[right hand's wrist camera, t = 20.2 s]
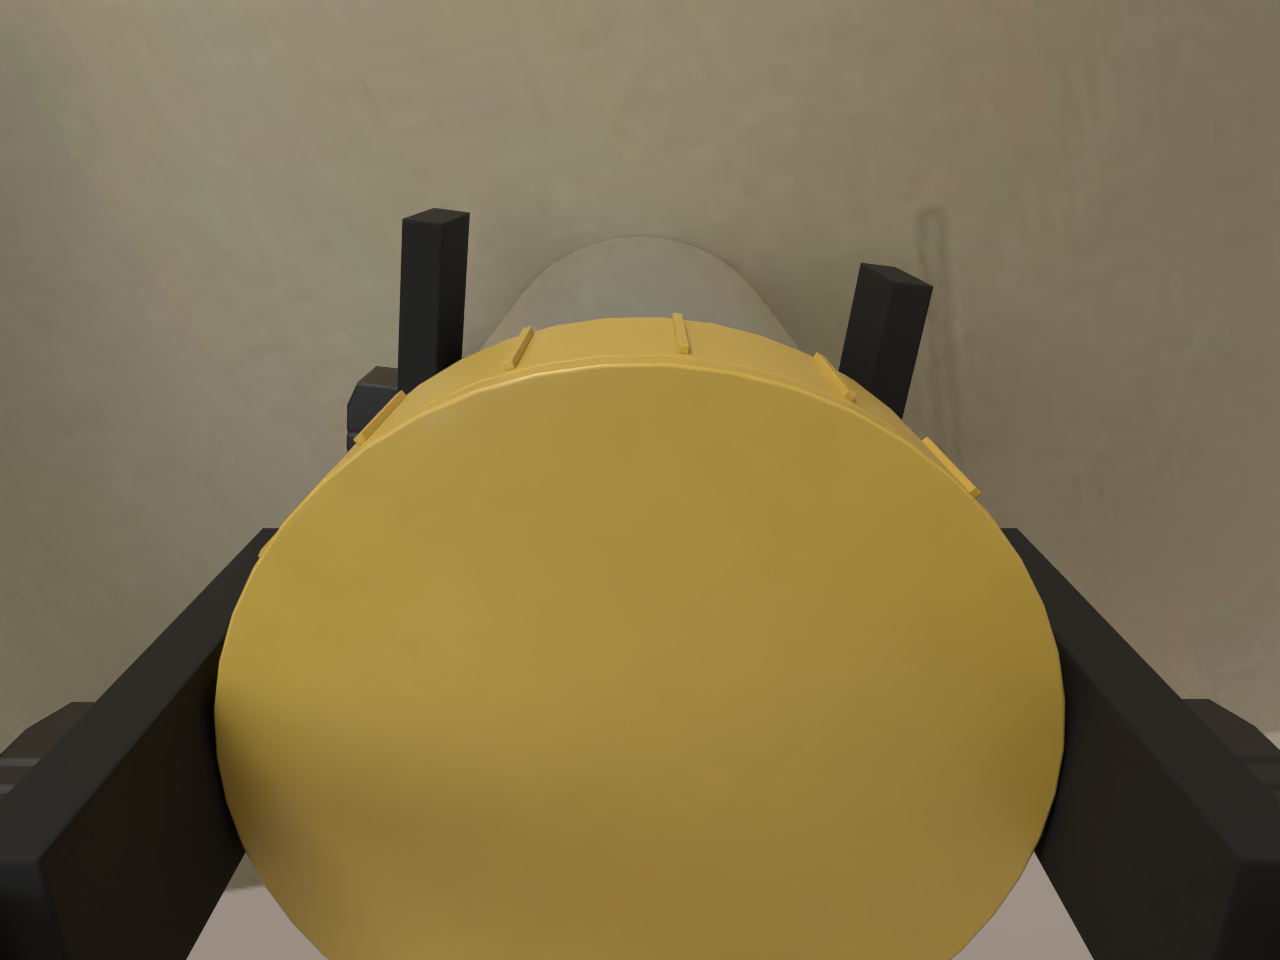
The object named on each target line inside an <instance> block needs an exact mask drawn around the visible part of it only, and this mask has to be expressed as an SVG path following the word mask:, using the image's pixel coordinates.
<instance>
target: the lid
mask: <svg viewBox="0 0 1280 960" xmlns="http://www.w3.org/2000/svg"><path fill="white" fill-rule="evenodd" d="M354 441H355V442H356V444H355V445H354V446H353V447H352V448H351V449H350V450H349V451H348V453H347V454H346V455H345V456H344V457H343V458H342V459H341V460H340V461H339V462H338V463H337V464H336V465H335V467H334V468H333V469H332V470H331V471H330V472H329V473H328V474H327V475H326V476H325V477H324V478H323V480H322V481H321V482H320V483H319V484H318V485H317V486H316V487H315V488H314V489H313V490H312V492H311V493H310V494H309V495H308V496H307V497H306V498H305V499H304V500H303V501H302V503H301V504H300V505H299V506H298V507H297V508H296V509H295V510H294V511H293V512H292V514H291V515H290V516H289V517H288V518H287V519H286V520H285V521H284V522H283V524H282V525H281V527H280V528H279V530H278V531H277V533H276V534H275V535H274V536H273V537H272V538H271V539H270V540H269V541H268V543H267V544H266V545H265V546H264V547H263V548H262V549H261V551H260V553H259V555H258V557H260V558H259V560H258V561H257V563H256V564H255V566H254V567H253V569H252V572H251V574H250V576H249V578H248V580H247V583H246V585H245V587H244V589H243V591H242V594H241V596H240V598H239V600H238V602H237V605H236V607H235V609H234V611H233V613H232V617H231V620H230V624H229V628H228V631H227V635H226V639H225V642H224V646H223V649H222V653H221V657H220V660H219V668H218V678H217V687H216V697H215V706H214V717H215V736H216V754H217V761H218V766H219V771H220V775H221V780H222V785H223V789H224V794H225V799H226V803H227V806H228V808H229V811H230V814H231V816H232V819H233V822H234V824H235V827H236V830H237V832H238V835H239V838H240V840H241V843H242V845H243V847H244V849H245V851H246V853H247V855H248V856H249V858H250V860H251V862H252V864H253V866H254V867H255V869H256V871H257V873H258V875H259V876H260V878H261V880H262V882H263V884H264V885H265V887H266V888H267V890H268V891H269V892H270V894H271V895H272V896H273V898H274V899H275V900H276V902H277V903H278V904H279V906H280V907H281V908H282V910H283V911H284V912H285V914H286V915H287V917H288V918H289V919H290V921H291V922H292V923H293V924H294V925H295V926H296V927H297V928H298V929H299V930H300V931H301V932H302V933H303V935H304V936H305V937H306V938H307V939H308V940H309V941H310V942H311V943H312V944H313V945H314V946H315V947H316V948H317V949H318V950H319V951H320V952H321V953H322V954H323V955H324V956H325V957H326V958H327V959H329V960H951V959H952V958H953V957H954V956H955V955H957V954H958V953H959V952H960V951H961V950H962V949H963V948H964V947H965V946H966V945H967V944H968V943H969V942H970V941H971V940H972V939H973V937H974V936H975V935H976V934H977V933H978V932H979V931H980V930H981V929H982V928H983V926H984V925H985V924H986V923H987V922H988V921H989V920H990V919H991V918H992V917H993V915H994V914H995V913H996V911H997V910H998V908H999V907H1000V906H1001V904H1002V903H1003V901H1004V900H1005V898H1006V897H1007V896H1008V894H1009V893H1010V891H1011V890H1012V889H1013V887H1014V886H1015V884H1016V883H1017V881H1018V880H1019V878H1020V877H1021V875H1022V873H1023V871H1024V869H1025V867H1026V865H1027V863H1028V861H1029V859H1030V857H1031V856H1032V854H1033V852H1034V850H1035V848H1036V846H1037V844H1038V842H1039V840H1040V838H1041V836H1042V833H1043V830H1044V827H1045V824H1046V821H1047V818H1048V815H1049V812H1050V809H1051V806H1052V804H1053V801H1054V798H1055V795H1056V790H1057V785H1058V779H1059V774H1060V768H1061V763H1062V757H1063V752H1064V731H1065V695H1064V688H1063V680H1062V673H1061V666H1060V659H1059V652H1058V649H1057V645H1056V642H1055V639H1054V636H1053V632H1052V629H1051V626H1050V623H1049V619H1048V616H1047V613H1046V610H1045V606H1044V604H1043V602H1042V600H1041V598H1040V596H1039V594H1038V592H1037V590H1036V587H1035V585H1034V583H1033V581H1032V579H1031V577H1030V575H1029V573H1028V571H1027V569H1026V567H1025V565H1024V563H1023V561H1022V559H1021V558H1020V556H1019V555H1018V553H1017V552H1016V550H1015V549H1014V548H1013V546H1012V545H1011V543H1010V542H1009V541H1008V539H1007V538H1006V536H1005V535H1004V533H1003V532H1002V531H1001V529H1000V528H999V526H998V525H997V524H996V522H995V521H994V519H993V518H992V517H991V515H990V514H989V513H988V512H987V511H986V510H985V509H984V507H983V506H982V505H981V504H980V503H979V502H978V501H977V500H976V499H975V498H977V497H978V496H979V495H981V493H980V491H979V490H978V489H977V488H976V487H975V486H974V485H973V484H972V483H971V482H970V480H969V479H968V478H967V477H966V476H965V475H964V474H963V473H962V472H961V471H960V470H959V469H958V468H957V467H956V466H955V465H954V464H953V463H952V462H951V461H950V460H949V459H948V458H947V457H946V455H945V454H944V453H943V452H942V451H941V450H940V449H939V448H938V447H937V446H936V445H935V444H934V443H933V442H932V441H931V440H930V439H929V438H928V437H925V438H924V439H923V440H922V441H921V440H920V439H919V438H918V437H917V436H916V435H915V433H914V432H913V431H912V430H911V429H910V428H909V427H908V426H907V425H906V424H905V423H904V422H903V421H902V420H901V419H900V418H899V417H898V416H897V415H896V414H895V413H894V412H893V411H892V410H891V409H890V408H889V407H888V406H886V405H885V404H884V403H882V402H881V401H880V400H879V399H877V398H876V397H875V396H873V395H872V394H871V393H870V392H868V391H867V390H866V389H864V388H863V387H862V386H861V385H859V384H858V383H857V382H855V381H854V380H853V379H851V378H849V377H847V376H846V375H844V374H842V373H840V372H839V371H837V370H835V368H834V367H833V366H832V365H831V364H830V362H829V361H828V360H827V359H826V358H825V356H824V355H822V354H820V353H818V352H816V354H815V355H814V357H812V356H811V355H809V354H806V353H804V352H801V351H799V350H796V349H794V348H791V347H789V346H786V345H784V344H781V343H779V342H776V341H774V340H771V339H769V338H766V337H764V336H760V335H757V334H753V333H749V332H745V331H741V330H737V329H733V328H729V327H725V326H721V325H717V324H713V323H706V322H697V321H689V320H683V317H682V314H681V313H673V316H672V318H664V317H637V318H604V319H597V320H590V321H583V322H577V323H570V324H563V325H556V326H553V327H549V328H546V329H542V330H539V331H535V332H533V329H532V327H531V326H530V327H526V328H523V330H522V331H521V333H520V335H519V336H517V337H514V338H510V339H507V340H505V341H502V342H500V343H498V344H495V345H493V346H491V347H489V348H486V349H484V350H482V351H479V352H477V353H475V354H472V355H470V356H468V357H466V358H463V359H461V360H459V361H458V362H456V363H454V364H453V365H451V366H449V367H448V368H446V369H445V370H443V371H441V372H440V373H438V374H436V375H435V376H433V377H431V378H430V379H428V380H426V381H425V382H423V383H422V384H420V385H418V386H417V387H416V388H415V389H414V390H412V391H411V392H410V393H409V394H407V395H406V394H405V393H404V392H403V391H402V390H401V391H400V392H399V393H397V394H396V395H395V396H394V397H393V398H392V399H391V400H390V401H389V402H388V403H387V404H386V406H385V407H384V408H383V409H382V410H381V411H380V412H379V413H378V414H377V415H376V416H375V417H374V418H373V419H372V420H371V421H370V422H369V423H368V424H367V426H366V427H365V428H364V429H363V430H362V431H361V432H360V433H359V434H358V435H357V436H356V437H355V438H354Z"/></svg>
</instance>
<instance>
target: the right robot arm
mask: <svg viewBox="0 0 1280 960" xmlns="http://www.w3.org/2000/svg"><path fill="white" fill-rule="evenodd" d="M1000 529H1001V531H1002V532H1003V533H1004V535H1005V536H1006V538H1007V539H1008V541H1009V542H1010V543H1011V545H1012V546H1013V548H1014V549H1015V550H1016V552H1017V553H1018V555H1019V556H1020V558H1021V559H1022V561H1023V563H1024V565H1025V567H1026V569H1027V571H1028V573H1029V575H1030V577H1031V579H1032V581H1033V583H1034V585H1035V587H1036V590H1037V592H1038V594H1039V596H1040V598H1041V600H1042V602H1043V604H1044V606H1045V610H1046V613H1047V616H1048V619H1049V623H1050V626H1051V629H1052V632H1053V636H1054V639H1055V642H1056V645H1057V649H1058V652H1059V659H1060V666H1061V673H1062V680H1063V688H1064V695H1065V731H1064V752H1063V757H1062V763H1061V768H1060V774H1059V779H1058V785H1057V790H1056V795H1055V798H1054V801H1053V804H1052V806H1051V809H1050V812H1049V815H1048V818H1047V821H1046V824H1045V827H1044V830H1043V833H1042V836H1041V838H1040V840H1039V842H1038V844H1037V846H1036V848H1035V850H1034V852H1035V854H1036V856H1037V857H1038V859H1039V861H1040V863H1041V865H1042V867H1043V868H1044V870H1045V872H1046V874H1047V876H1048V877H1049V879H1050V881H1051V883H1052V884H1053V886H1054V888H1055V890H1056V892H1057V894H1058V896H1059V897H1060V899H1061V901H1062V903H1063V905H1064V906H1065V908H1066V910H1067V912H1068V914H1069V915H1070V917H1071V919H1072V921H1073V923H1074V924H1075V926H1076V928H1077V930H1078V932H1079V934H1080V935H1081V937H1082V939H1083V941H1084V943H1085V944H1086V946H1087V948H1088V950H1089V952H1090V954H1091V955H1092V957H1093V959H1094V960H1280V750H1279V749H1278V748H1277V747H1276V746H1275V745H1274V744H1273V743H1272V742H1271V741H1270V740H1269V739H1268V738H1267V737H1265V736H1264V735H1263V734H1262V733H1261V732H1260V731H1259V730H1258V729H1257V728H1256V727H1255V726H1254V725H1252V724H1250V723H1249V722H1247V721H1245V720H1244V719H1242V718H1240V717H1238V716H1237V715H1235V714H1233V713H1232V712H1230V711H1228V710H1226V709H1225V708H1223V707H1221V706H1220V705H1218V704H1216V703H1215V702H1213V701H1211V700H1209V699H1181V698H1180V697H1179V696H1178V695H1177V694H1176V693H1175V692H1174V691H1173V690H1172V689H1171V688H1170V687H1169V686H1168V685H1167V683H1166V682H1165V681H1164V680H1163V679H1162V678H1161V677H1160V676H1159V675H1158V674H1157V673H1156V672H1155V671H1154V670H1153V669H1152V668H1151V667H1150V666H1149V665H1148V664H1147V663H1146V662H1145V661H1144V660H1143V659H1142V658H1141V657H1140V655H1139V654H1138V653H1137V652H1136V651H1135V650H1134V649H1133V648H1132V647H1131V646H1130V645H1129V644H1128V643H1127V642H1126V641H1125V640H1124V639H1123V638H1122V637H1121V636H1120V635H1119V634H1118V633H1117V632H1116V631H1115V630H1114V629H1113V627H1112V626H1111V625H1110V624H1109V623H1108V622H1107V621H1106V620H1105V619H1104V618H1103V617H1102V616H1101V615H1100V614H1099V613H1098V612H1097V611H1096V610H1095V609H1094V608H1093V607H1092V606H1091V605H1090V604H1089V603H1088V602H1087V601H1086V599H1085V598H1084V597H1083V596H1082V595H1081V594H1080V593H1079V592H1078V591H1077V590H1076V589H1075V588H1074V587H1073V586H1072V585H1071V584H1070V583H1069V582H1068V581H1067V580H1066V579H1065V578H1064V577H1063V576H1062V575H1061V574H1060V572H1059V571H1058V570H1057V569H1056V568H1055V567H1054V566H1053V565H1052V564H1051V563H1050V562H1049V561H1048V560H1047V559H1046V558H1045V557H1044V556H1043V555H1042V554H1041V553H1040V552H1039V551H1038V550H1037V549H1036V548H1035V547H1034V546H1033V544H1032V543H1031V542H1030V541H1029V540H1028V539H1027V538H1026V537H1025V536H1024V535H1023V534H1022V533H1021V532H1020V531H1019V530H1018V529H1017V528H1000ZM278 530H279V528H263V529H262V530H261V531H260V532H259V533H258V534H257V535H256V536H255V537H254V538H253V539H252V540H251V541H250V542H249V543H248V544H247V545H246V547H245V548H244V549H243V550H242V551H241V552H240V553H239V554H238V555H237V556H236V557H235V558H234V559H233V560H232V561H231V562H230V563H229V564H228V565H227V566H226V567H225V568H224V569H223V570H222V571H221V572H220V574H219V575H218V576H217V577H216V578H215V579H214V580H213V581H212V582H211V583H210V584H209V585H208V586H207V587H206V588H205V589H204V590H203V591H202V592H201V593H200V594H199V595H198V596H197V597H196V598H195V599H194V600H193V602H192V603H191V604H190V605H189V606H188V607H187V608H186V609H185V610H184V611H183V612H182V613H181V614H180V615H179V616H178V617H177V618H176V619H175V620H174V621H173V622H172V623H171V624H170V625H169V626H168V627H167V628H166V630H165V631H164V632H163V633H162V634H161V635H160V636H159V637H158V638H157V639H156V640H155V641H154V642H153V643H152V644H151V645H150V646H149V647H148V648H147V649H146V650H145V651H144V652H143V653H142V654H141V655H140V656H139V658H138V659H137V660H136V661H135V662H134V663H133V664H132V665H131V666H130V667H129V668H128V669H127V670H126V671H125V672H124V673H123V674H122V675H121V676H120V677H119V678H118V679H117V680H116V681H115V682H114V683H113V684H112V686H111V687H110V688H109V689H108V690H107V691H106V692H105V693H104V694H103V695H102V696H101V697H100V698H99V699H98V700H97V701H96V702H71V703H70V704H68V705H66V706H65V707H63V708H61V709H59V710H58V711H56V712H54V713H53V714H51V715H49V716H48V717H46V718H44V719H43V720H41V721H39V722H37V723H36V724H34V725H32V726H31V727H29V728H27V729H26V730H25V731H24V732H23V733H22V734H21V735H20V736H19V737H18V738H17V739H16V740H15V741H13V742H12V743H11V744H10V745H9V746H8V747H7V748H6V749H5V750H4V751H3V752H2V753H1V754H0V960H186V959H187V957H188V955H189V953H190V952H191V950H192V948H193V946H194V944H195V943H196V941H197V939H198V937H199V935H200V934H201V932H202V930H203V928H204V926H205V924H206V923H207V921H208V919H209V917H210V915H211V914H212V912H213V910H214V908H215V906H216V905H217V903H218V901H219V899H220V897H221V895H222V894H223V892H224V890H225V888H226V886H227V885H228V883H229V881H230V879H231V877H232V876H233V874H234V872H235V870H236V868H237V867H238V865H239V863H240V861H241V859H242V857H243V856H244V854H245V852H246V851H245V849H244V847H243V845H242V843H241V840H240V838H239V835H238V832H237V830H236V827H235V824H234V822H233V819H232V816H231V814H230V811H229V808H228V806H227V803H226V799H225V794H224V789H223V785H222V780H221V775H220V771H219V766H218V761H217V754H216V736H215V717H214V706H215V697H216V687H217V678H218V668H219V660H220V657H221V653H222V649H223V646H224V642H225V639H226V635H227V631H228V628H229V624H230V620H231V617H232V613H233V611H234V609H235V607H236V605H237V602H238V600H239V598H240V596H241V594H242V591H243V589H244V587H245V585H246V583H247V580H248V578H249V576H250V574H251V572H252V569H253V567H254V566H255V564H256V563H257V561H258V560H259V558H260V557H258V555H259V553H260V551H261V549H262V548H263V547H264V546H265V545H266V544H267V543H268V541H269V540H270V539H271V538H272V537H273V536H274V535H275V534H276V533H277V531H278Z"/></svg>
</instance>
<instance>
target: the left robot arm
mask: <svg viewBox="0 0 1280 960" xmlns="http://www.w3.org/2000/svg"><path fill="white" fill-rule="evenodd" d="M469 217H470V213H469V212H461V211H453V210H445V209H437V208H433V209H430V210H427V211H424V212H421V213H418V214H415V215H412V216H409V217H407V218H404V219H403V221H402V253H401V286H400V318H399V350H398V369H396V368H388V367H380V366H376V367H375V368H374V369H373V370H371V371H370V372H369V373H368V374H367V375H366V376H364V377H363V378H362V379H361V380H360V381H359V382H358V383H357V385H356V387H355V389H354V392H353V394H352V396H351V398H350V400H349V403H348V405H347V430H348V433H347V449H348V451H349V450H350V449H351V448H352V447H353V446H354V445H355V444H356V442H355V441H354V438H355V437H356V436H357V435H358V434H359V433H360V432H361V431H362V430H363V429H364V428H365V427H366V426H367V424H368V423H369V422H370V421H371V420H372V419H373V418H374V417H375V416H376V415H377V414H378V413H379V412H380V411H381V410H382V409H383V408H384V407H385V406H386V404H387V403H388V402H389V401H390V400H391V399H392V398H393V397H394V396H395V395H396V394H397V393H399V392H400V391H401V390H402V391H403V392H404V393H405V394H406V395H407V394H409V393H410V392H411V391H412V390H414V389H415V388H416V387H417V386H418V385H420V384H422V383H423V382H425V381H426V380H428V379H430V378H431V377H433V376H435V375H436V374H438V373H440V372H441V371H443V370H445V369H446V368H448V367H449V366H451V365H453V364H454V363H456V362H458V361H459V360H461V359H462V342H463V324H464V307H465V289H466V271H467V253H468V235H469ZM932 290H933V286H931V285H929V284H927V283H925V282H923V281H921V280H919V279H917V278H916V277H914V276H912V275H910V274H908V273H906V272H904V271H902V270H900V269H898V268H896V267H890V266H882V265H874V264H867V263H861V265H860V270H859V275H858V279H857V284H856V289H855V294H854V299H853V304H852V309H851V313H850V318H849V323H848V328H847V333H846V338H845V342H844V347H843V352H842V357H841V362H840V367H839V372H840V373H842V374H844V375H846V376H847V377H849V378H851V379H853V380H854V381H855V382H857V383H858V384H859V385H861V386H862V387H863V388H864V389H866V390H867V391H868V392H870V393H871V394H872V395H873V396H875V397H876V398H877V399H879V400H880V401H881V402H882V403H884V404H885V405H886V406H888V407H889V408H890V409H891V410H892V411H893V412H894V413H895V414H896V415H897V416H898V417H899V418H900V419H901V420H902V417H903V413H904V408H905V404H906V400H907V396H908V391H909V387H910V383H911V379H912V374H913V370H914V366H915V362H916V358H917V353H918V349H919V345H920V341H921V336H922V332H923V328H924V324H925V319H926V315H927V311H928V307H929V302H930V298H931V294H932ZM348 451H347V453H348Z"/></svg>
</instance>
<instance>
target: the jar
mask: <svg viewBox="0 0 1280 960" xmlns="http://www.w3.org/2000/svg"><path fill="white" fill-rule="evenodd" d="M673 313H681V314H682V317H683V320H689V321H697V322H706V323H713V324H717V325H721V326H725V327H729V328H733V329H737V330H741V331H745V332H749V333H753V334H757V335H760V336H764V337H766V338H769V339H771V340H774V341H776V342H779V343H781V344H784V345H786V346H789V347H791V348H794V349H796V350H799V351H801V349H800V348H799V347H798V345H797V344H796V343H795V341H794V340H793V339H792V337H791V336H790V335H789V334H788V332H787V331H786V330H785V328H784V327H783V326H782V324H781V323H780V322H779V320H778V319H777V318H776V316H775V315H774V314H773V312H772V311H771V310H770V308H769V307H768V306H767V304H766V303H765V302H764V300H763V299H762V298H761V297H760V295H759V294H758V293H757V292H756V291H755V289H754V288H753V287H752V286H751V285H750V284H749V283H748V281H747V280H746V279H745V278H744V277H742V276H741V275H740V274H739V273H738V272H737V271H735V270H734V269H733V268H732V267H731V266H729V265H728V264H726V263H725V262H723V261H722V260H720V259H719V258H717V257H716V256H714V255H712V254H710V253H708V252H706V251H704V250H702V249H699V248H697V247H695V246H692V245H689V244H686V243H683V242H679V241H676V240H671V239H665V238H659V237H645V236H631V237H621V238H613V239H609V240H605V241H601V242H596V243H593V244H591V245H588V246H585V247H583V248H580V249H578V250H575V251H574V252H572V253H570V254H568V255H566V256H564V257H563V258H561V259H559V260H557V261H556V262H555V263H553V264H552V265H551V266H549V267H548V268H547V269H545V270H544V271H543V272H541V273H540V274H539V275H538V276H537V277H536V278H535V279H534V280H533V281H532V282H531V283H530V284H529V285H528V286H527V288H526V289H525V290H524V292H523V293H522V294H521V295H520V297H519V298H518V299H517V301H516V302H515V303H514V305H513V306H512V307H511V308H510V310H509V311H508V312H507V314H506V315H505V316H504V318H503V319H502V320H501V322H500V323H499V324H498V326H497V327H496V328H495V330H494V331H493V332H492V334H491V335H490V336H489V338H488V339H487V340H486V342H485V343H484V344H483V346H482V347H481V348H480V350H479V351H482V350H484V349H486V348H489V347H491V346H493V345H495V344H498V343H500V342H502V341H505V340H507V339H510V338H514V337H517V336H519V335H520V333H521V331H522V330H523V328H526V327H530V326H531V327H532V329H533V332H535V331H539V330H542V329H546V328H549V327H553V326H556V325H563V324H570V323H577V322H583V321H590V320H597V319H604V318H637V317H664V318H672V316H673ZM479 351H478V352H479ZM801 352H802V351H801Z"/></svg>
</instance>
